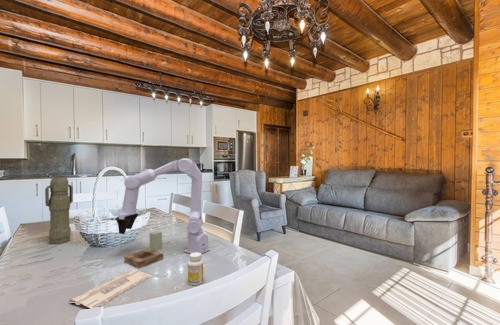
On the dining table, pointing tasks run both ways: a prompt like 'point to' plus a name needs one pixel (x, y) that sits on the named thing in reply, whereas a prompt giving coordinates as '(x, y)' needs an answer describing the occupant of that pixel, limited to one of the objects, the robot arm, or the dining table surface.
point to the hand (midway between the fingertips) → (125, 231)
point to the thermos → (59, 209)
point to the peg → (156, 240)
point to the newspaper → (111, 288)
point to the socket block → (143, 258)
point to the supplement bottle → (195, 269)
